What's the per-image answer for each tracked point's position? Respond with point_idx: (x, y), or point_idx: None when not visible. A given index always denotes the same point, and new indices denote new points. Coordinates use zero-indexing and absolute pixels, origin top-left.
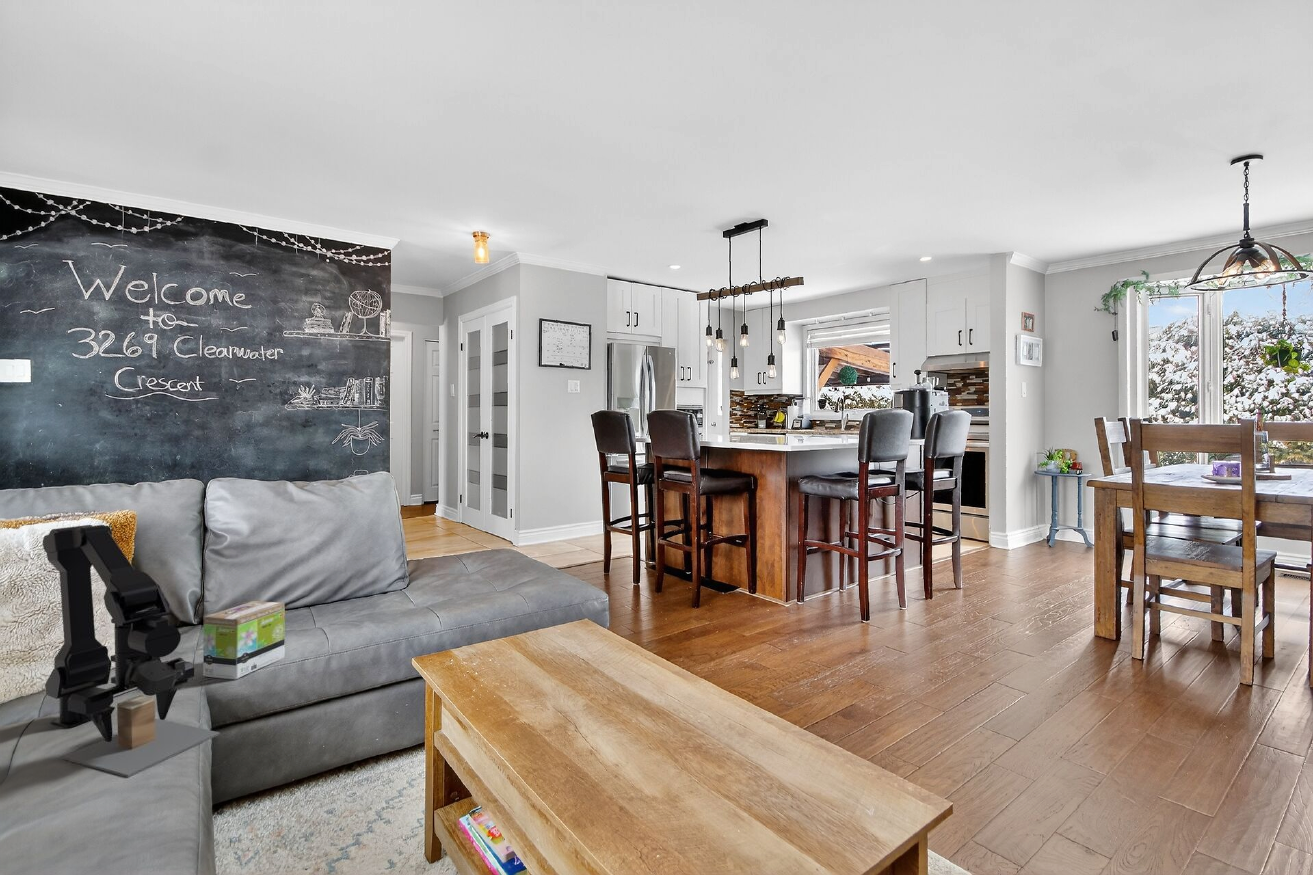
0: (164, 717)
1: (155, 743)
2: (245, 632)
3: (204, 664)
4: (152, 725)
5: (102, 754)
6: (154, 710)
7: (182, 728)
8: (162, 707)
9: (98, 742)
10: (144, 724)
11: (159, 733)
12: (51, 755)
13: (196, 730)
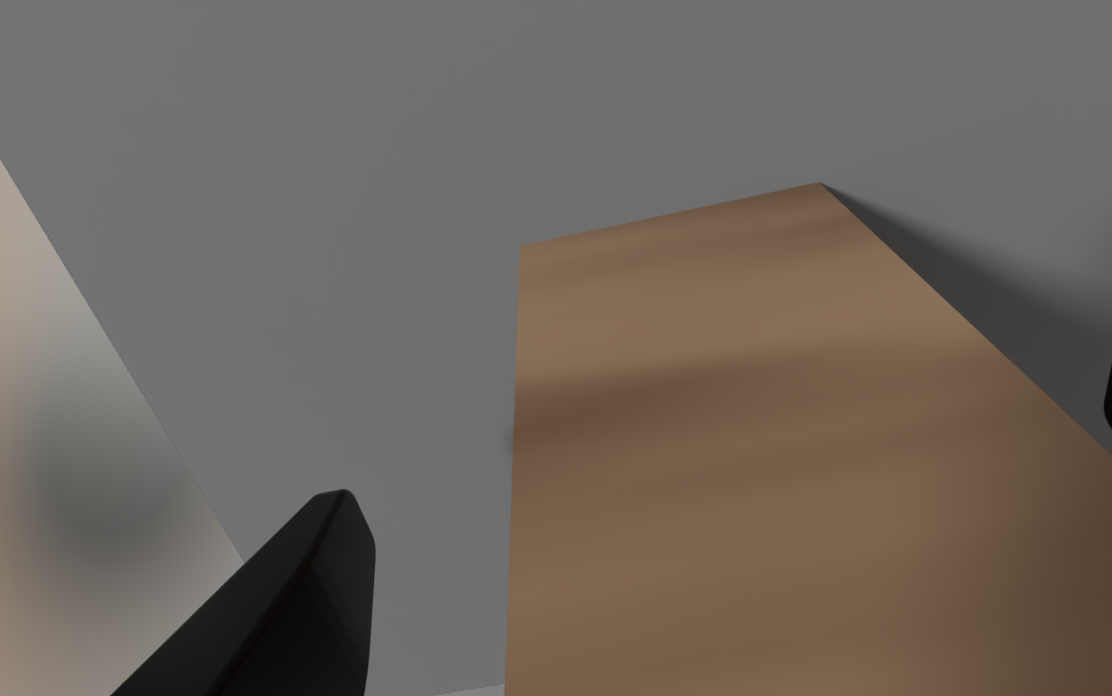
0: (322, 505)
1: (572, 99)
2: None
3: None
4: (560, 348)
5: (1025, 343)
6: (517, 554)
7: (177, 289)
8: (295, 676)
9: None
10: (712, 365)
11: (427, 377)
12: None
13: (9, 33)
